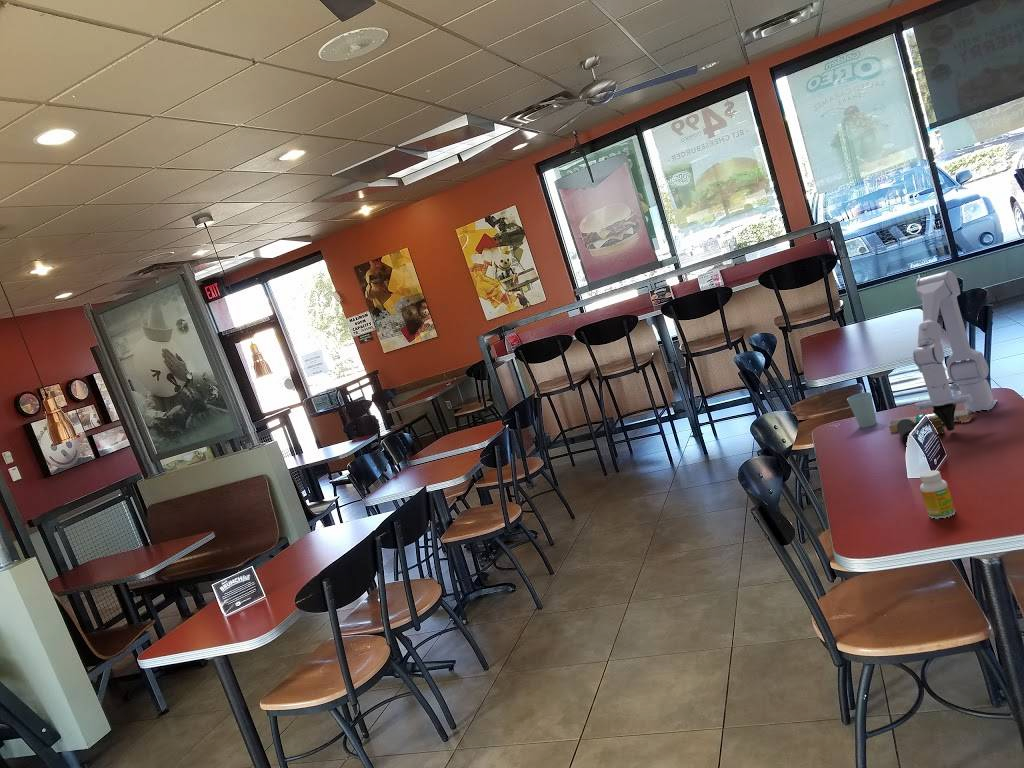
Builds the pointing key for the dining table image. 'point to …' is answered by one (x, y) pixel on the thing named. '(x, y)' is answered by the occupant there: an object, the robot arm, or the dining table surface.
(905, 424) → the pipe connector
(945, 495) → the supplement bottle
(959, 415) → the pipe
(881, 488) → the dining table surface
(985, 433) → the dining table surface
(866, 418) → the cup
